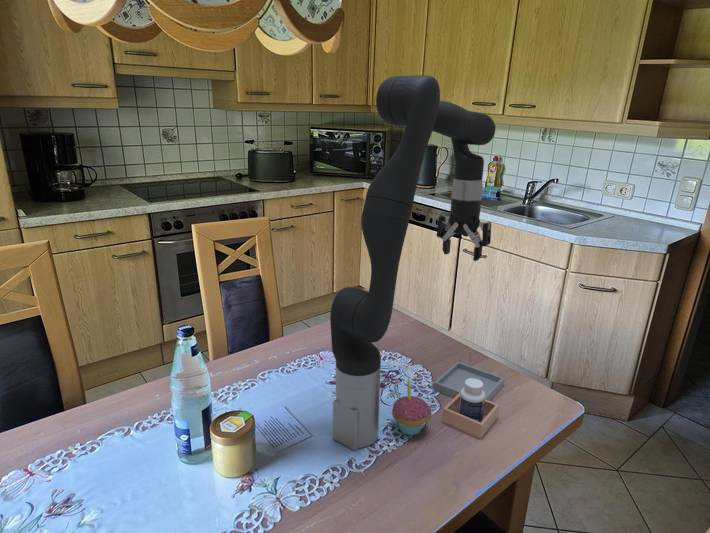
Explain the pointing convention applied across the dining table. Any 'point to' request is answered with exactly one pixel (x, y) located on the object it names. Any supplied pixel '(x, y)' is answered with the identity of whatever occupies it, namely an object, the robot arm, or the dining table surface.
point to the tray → (460, 372)
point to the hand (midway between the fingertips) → (461, 256)
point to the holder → (467, 423)
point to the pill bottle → (472, 399)
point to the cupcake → (411, 413)
